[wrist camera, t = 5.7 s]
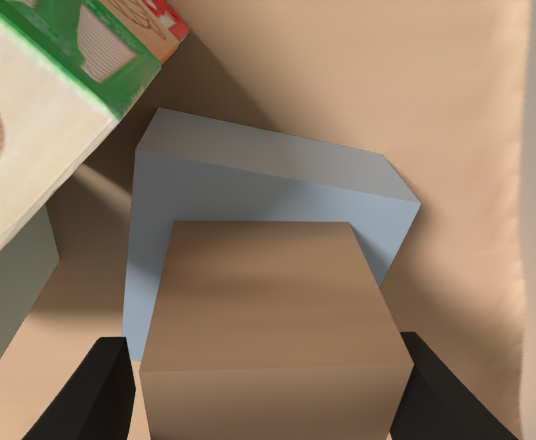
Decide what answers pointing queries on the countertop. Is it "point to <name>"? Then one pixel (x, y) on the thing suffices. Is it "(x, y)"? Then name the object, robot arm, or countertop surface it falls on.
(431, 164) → the countertop surface
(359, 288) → the walnut cube
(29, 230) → the sage cube
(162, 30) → the stack of blocks
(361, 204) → the base block
